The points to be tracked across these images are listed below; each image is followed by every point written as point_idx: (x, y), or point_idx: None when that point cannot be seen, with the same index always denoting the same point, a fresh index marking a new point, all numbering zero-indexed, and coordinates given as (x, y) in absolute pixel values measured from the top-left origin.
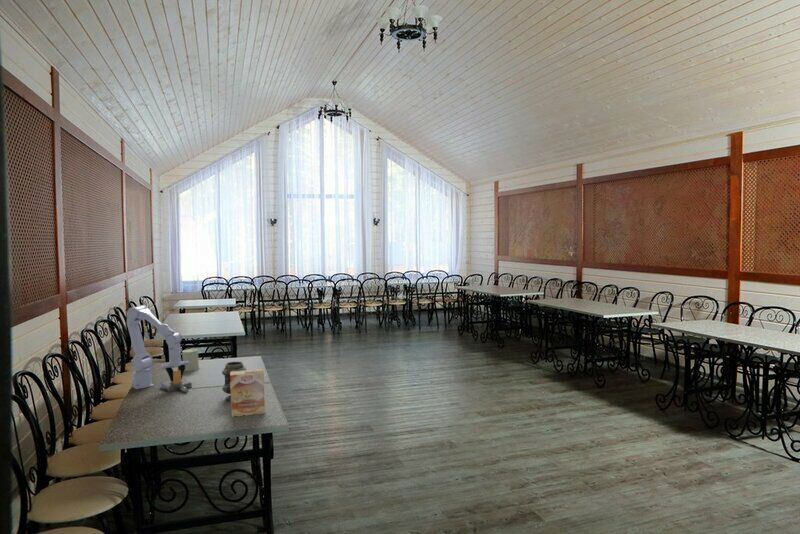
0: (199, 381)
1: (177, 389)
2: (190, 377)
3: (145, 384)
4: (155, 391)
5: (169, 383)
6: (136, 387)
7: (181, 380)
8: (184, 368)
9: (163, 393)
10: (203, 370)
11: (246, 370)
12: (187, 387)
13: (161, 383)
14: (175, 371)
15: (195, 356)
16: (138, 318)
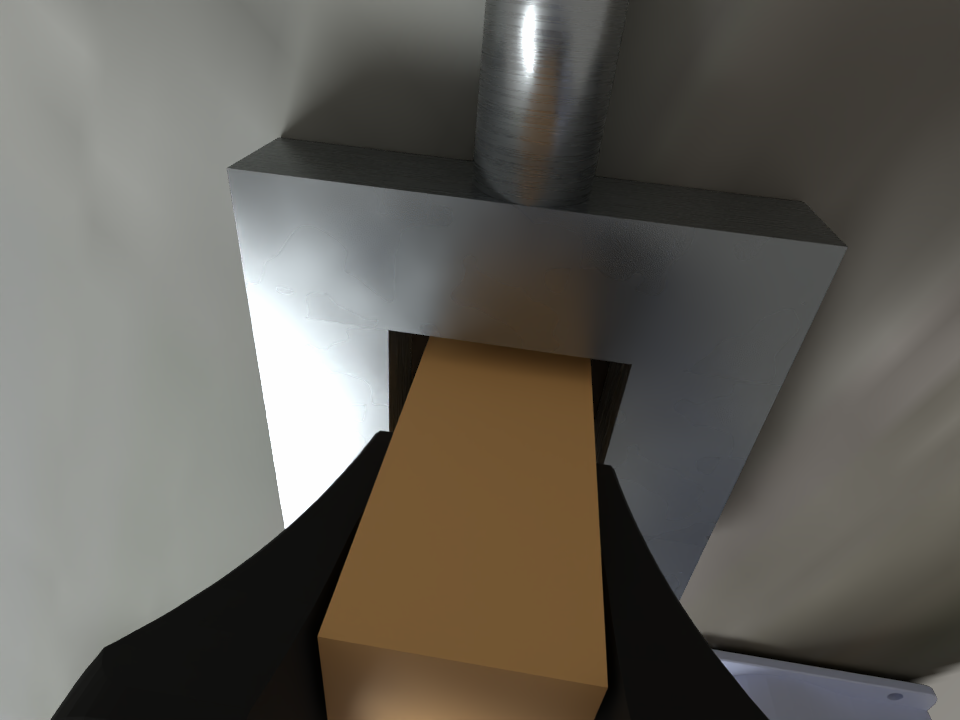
0: (84, 379)
1: (603, 181)
2: (180, 599)
3: (808, 712)
4: (886, 445)
5: None
6: (919, 716)
7: None
8: (139, 652)
9: (943, 203)
10: (16, 671)
11: None
12: (368, 154)
13: (676, 595)
14: (514, 670)
15: None
16: None
